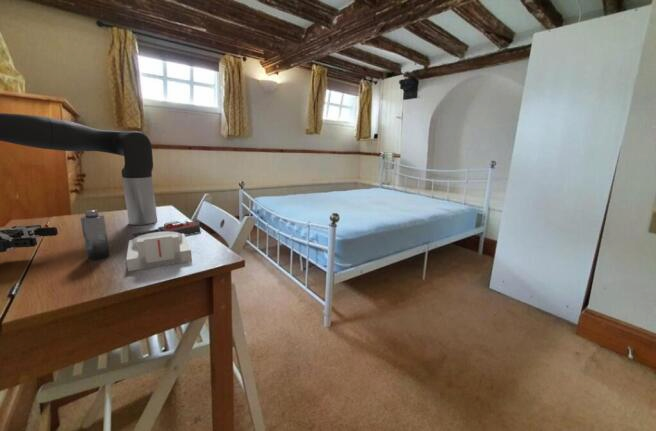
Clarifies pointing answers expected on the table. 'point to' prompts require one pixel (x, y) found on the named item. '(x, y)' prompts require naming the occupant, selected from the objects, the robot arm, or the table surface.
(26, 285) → the table surface
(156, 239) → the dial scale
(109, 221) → the table surface
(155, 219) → the robot arm
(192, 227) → the walkie-talkie
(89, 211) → the steel weight
